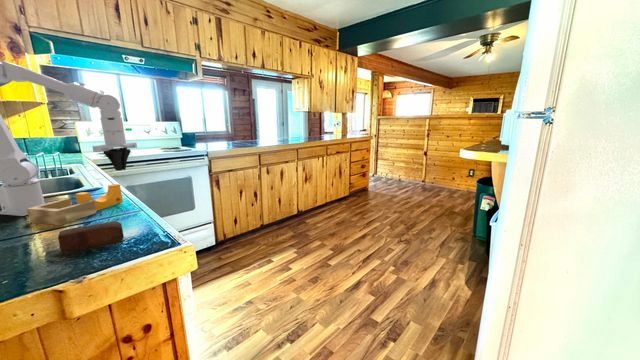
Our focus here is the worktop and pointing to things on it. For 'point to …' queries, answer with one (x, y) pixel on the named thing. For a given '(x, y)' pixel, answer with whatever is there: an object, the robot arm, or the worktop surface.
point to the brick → (90, 237)
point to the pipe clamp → (103, 197)
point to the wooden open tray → (60, 212)
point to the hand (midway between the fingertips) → (120, 170)
